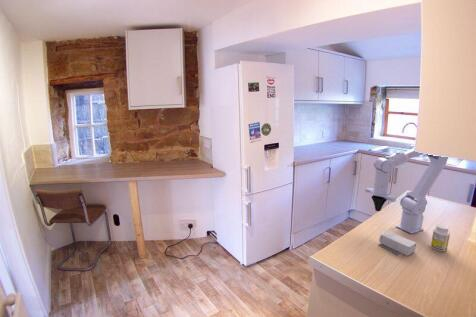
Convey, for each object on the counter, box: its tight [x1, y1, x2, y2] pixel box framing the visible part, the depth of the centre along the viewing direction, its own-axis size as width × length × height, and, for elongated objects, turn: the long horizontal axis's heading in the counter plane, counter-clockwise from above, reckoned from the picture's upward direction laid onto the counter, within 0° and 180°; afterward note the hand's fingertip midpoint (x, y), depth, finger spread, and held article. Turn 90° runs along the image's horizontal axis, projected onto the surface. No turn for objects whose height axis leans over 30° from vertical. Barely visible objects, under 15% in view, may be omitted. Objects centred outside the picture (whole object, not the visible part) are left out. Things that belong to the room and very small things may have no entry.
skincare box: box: [378, 230, 417, 256], centre depth 114 cm, size 6×4×12 cm
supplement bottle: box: [430, 224, 451, 252], centre depth 113 cm, size 6×6×10 cm
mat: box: [377, 243, 402, 256], centre depth 115 cm, size 9×8×1 cm
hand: (377, 210), depth 127 cm, fingers closed
